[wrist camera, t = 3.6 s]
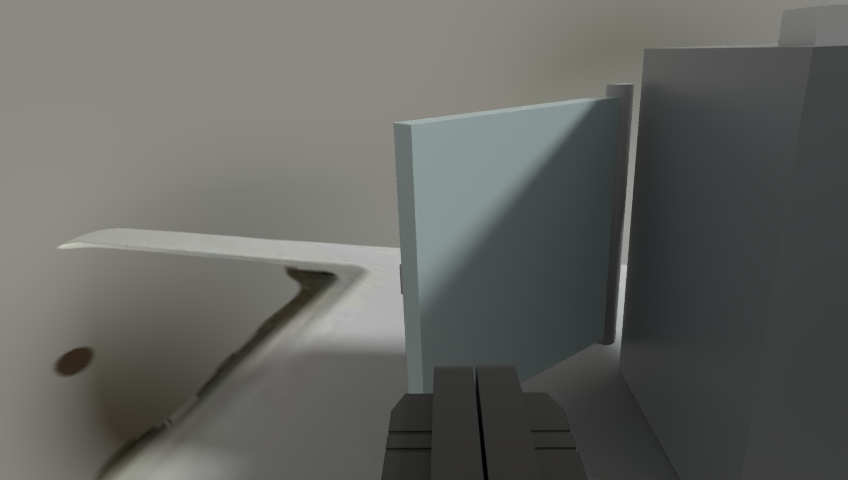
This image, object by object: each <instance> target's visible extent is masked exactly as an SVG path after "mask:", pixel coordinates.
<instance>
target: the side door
mask: <svg viewBox="0 0 848 480" xmlns="http://www.w3.org/2000/svg"><path fill="white" fill-rule="evenodd" d="M633 94H634V84H629V83H626V84H625V83H622V84H621V83H620V84H607V85H606V97H603V96H602V97H601V96H600V97H592V98H584V99H577V100H569V101H561V102H553V103H545V104H537V105H530V106H522V107H514V108H506V109H498V110H490V111H483V112H475V113H466V114H459V115H452V116H443V117H436V118H427V119H420V120H411V121H404V122H396V123H394V140H395V158H396V176H397V195H398V212H399V229H400V230H399V231H400V249H401V265H400V281H401V294H403V304H404V322H405V340H406V359H407V377H408V394H426V393H433V380H434V366H473V373H474V383H475V369H476V366H487V365H515V366H516V369H517V374H518V378H519V382H520V383H521V382H523V381H525V380H527V379H529V378H531V377H533V376H534V375H536V374H538V373H540V372H542V371H544V370H546V369H548V368H549V367H551V366H553V365H555V364H557V363H559V362H561V361H563V360H564V359H566V358H568V357H570V356H572V355H574V354H576V353H578V352H579V351H581V350H583V349H585V348H587V347H589V346H591V345H593V344H594V343H597V344H601V345H610V344H613V343H614V342H615V334H616V321H617V307H618V294H619V281H620V267H621V253H622V241H623V226H624V213H625V201H626V186H627V174H628V161H629V146H630V133H631V121H632V107H633Z"/></svg>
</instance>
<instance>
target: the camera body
mask: <svg viewBox="0 0 848 480" xmlns="http://www.w3.org/2000/svg"><path fill="white" fill-rule="evenodd" d="M619 370H620V372H621V373H622V375H623V377H624V379H625V381H626V382H627V384H628V386H629V388H630V390H631V392H632V393H633V395H634V397H635V399H636V401H637V402H638V404H639V406H640V408H641V410H642V412H643V413H644V415H645V417H646V419H647V421H648V423H649V424H650V426H651V428H652V430H653V432H654V433H655V435H656V437H657V439H658V441H659V443H660V444H661V446H662V448H663V450H664V452H665V454H666V455H667V457H668V459H669V461H670V463H671V464H672V466H673V468H674V470H675V472H676V474H677V475H678V477H679V479H680V480H848V5H828V6H815V7H807V8H799V9H791V10H784V11H783V16H782V22H781V29H780V36H779V43H775V44H751V45H726V46H703V47H677V48H652V49H645V50H644V62H643V74H642V87H641V100H640V113H639V126H638V138H637V150H636V163H635V176H634V188H633V201H632V214H631V226H630V239H629V252H628V264H627V277H626V289H625V302H624V315H623V327H622V340H621V353H620V365H619Z"/></svg>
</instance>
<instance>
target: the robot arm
mask: <svg viewBox="0 0 848 480" xmlns="http://www.w3.org/2000/svg"><path fill="white" fill-rule="evenodd" d="M381 480H587V478H586V475H585V472H584V469H583V466H582V463H581V460H580V457H579V454H578V452H577V451H576V445H575V442H574V439H573V436H572V434H571V433H570V428H569V425H568V422H567V419H566V416H565V413H564V410H563V409H562V408H561V407H560V406H559V405H558V404H557V403H556V402H555V401H554V400H553V399H552V398H551V397H550V396H549V395H548V394H547V393H522V391H521V387H520V382H519V378H518V374H517V369H516V366H515V365H487V366H476V369H475V383H474V373H473V366H434V380H433V393H426V394H405V395H404V396H403V397H402V398H401V400H400V401H399V402H398V403H397V405H396V406H395V407H394V408H393V410H392V411H391V418H390V424H389V435H388V438H387V445H386V452H385V459H384V465H383V472H382V479H381Z"/></svg>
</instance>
